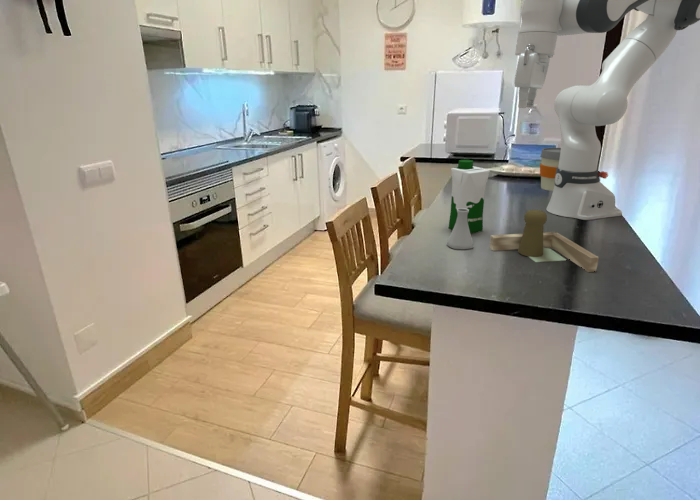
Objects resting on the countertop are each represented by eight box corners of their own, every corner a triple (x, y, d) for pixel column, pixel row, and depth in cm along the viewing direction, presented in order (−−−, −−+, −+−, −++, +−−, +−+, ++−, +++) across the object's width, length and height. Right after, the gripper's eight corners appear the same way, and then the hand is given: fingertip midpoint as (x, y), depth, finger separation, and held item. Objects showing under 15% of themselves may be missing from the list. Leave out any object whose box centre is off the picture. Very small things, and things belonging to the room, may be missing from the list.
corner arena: (553, 244, 120) (555, 231, 119) (596, 271, 103) (598, 257, 102) (489, 247, 118) (490, 235, 117) (521, 276, 101) (524, 262, 100)
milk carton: (466, 223, 137) (472, 158, 130) (487, 231, 130) (494, 162, 122) (443, 228, 134) (448, 160, 126) (464, 236, 126) (470, 166, 119)
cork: (545, 257, 111) (552, 215, 107) (520, 256, 112) (525, 214, 108) (540, 248, 116) (546, 208, 112) (516, 247, 117) (521, 207, 113)
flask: (443, 241, 123) (445, 206, 120) (469, 240, 124) (472, 205, 120) (450, 250, 116) (453, 214, 113) (477, 250, 117) (481, 213, 113)
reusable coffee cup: (572, 186, 179) (579, 148, 173) (567, 193, 169) (574, 153, 163) (539, 183, 185) (544, 146, 180) (533, 189, 175) (538, 151, 170)
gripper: (542, 42, 97) (532, 109, 102) (554, 51, 114) (545, 107, 119) (513, 43, 100) (503, 107, 105) (528, 51, 117) (520, 106, 122)
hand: (525, 107), depth 112 cm, fingers open, 8 cm apart
